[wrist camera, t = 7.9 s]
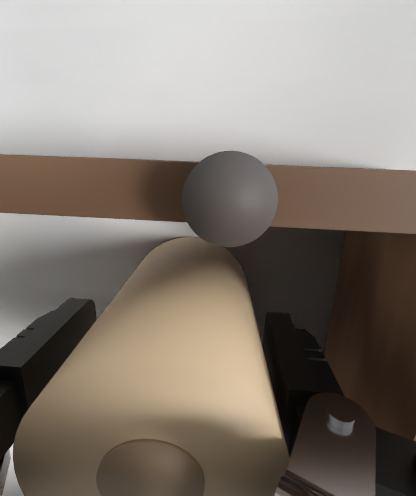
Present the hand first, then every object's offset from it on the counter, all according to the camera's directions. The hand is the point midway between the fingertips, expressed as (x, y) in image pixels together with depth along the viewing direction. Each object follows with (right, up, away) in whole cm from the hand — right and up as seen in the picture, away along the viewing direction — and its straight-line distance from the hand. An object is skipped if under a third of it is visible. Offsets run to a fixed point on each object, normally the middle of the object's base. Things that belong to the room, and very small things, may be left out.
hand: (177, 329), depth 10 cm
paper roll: (0, +1, +3) cm, 3 cm away
